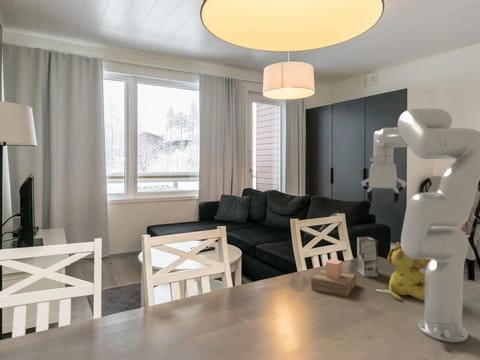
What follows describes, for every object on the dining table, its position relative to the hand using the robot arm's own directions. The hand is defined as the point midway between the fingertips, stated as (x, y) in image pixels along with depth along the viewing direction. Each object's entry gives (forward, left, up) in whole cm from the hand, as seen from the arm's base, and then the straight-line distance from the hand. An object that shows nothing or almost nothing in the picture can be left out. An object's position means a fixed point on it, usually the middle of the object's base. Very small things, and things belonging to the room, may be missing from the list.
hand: (382, 202), depth 134 cm
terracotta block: (-14, +16, -30) cm, 37 cm away
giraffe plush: (-4, -11, -35) cm, 37 cm away
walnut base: (-14, +16, -34) cm, 40 cm away
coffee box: (+10, +8, -34) cm, 37 cm away
